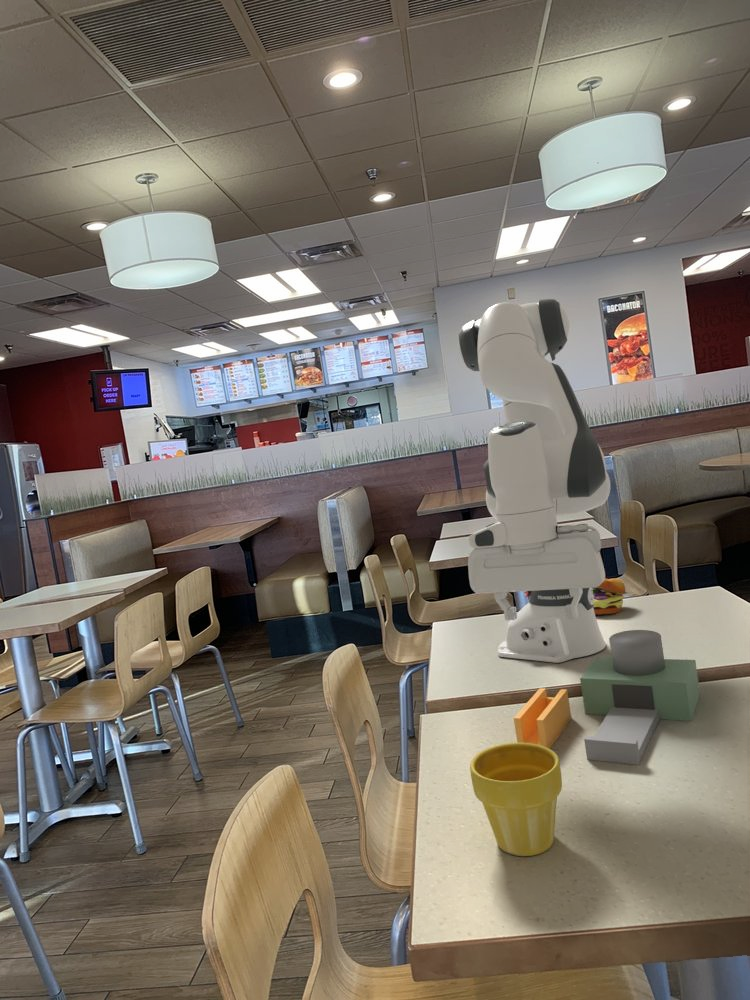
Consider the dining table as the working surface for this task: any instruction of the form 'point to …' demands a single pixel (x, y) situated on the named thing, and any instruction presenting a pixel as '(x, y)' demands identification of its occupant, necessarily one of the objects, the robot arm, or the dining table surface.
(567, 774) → the dining table surface
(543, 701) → the chute
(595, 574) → the robot arm
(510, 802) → the plant pot
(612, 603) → the cheeseburger
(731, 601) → the dining table surface
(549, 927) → the dining table surface
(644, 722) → the green coffee machine
